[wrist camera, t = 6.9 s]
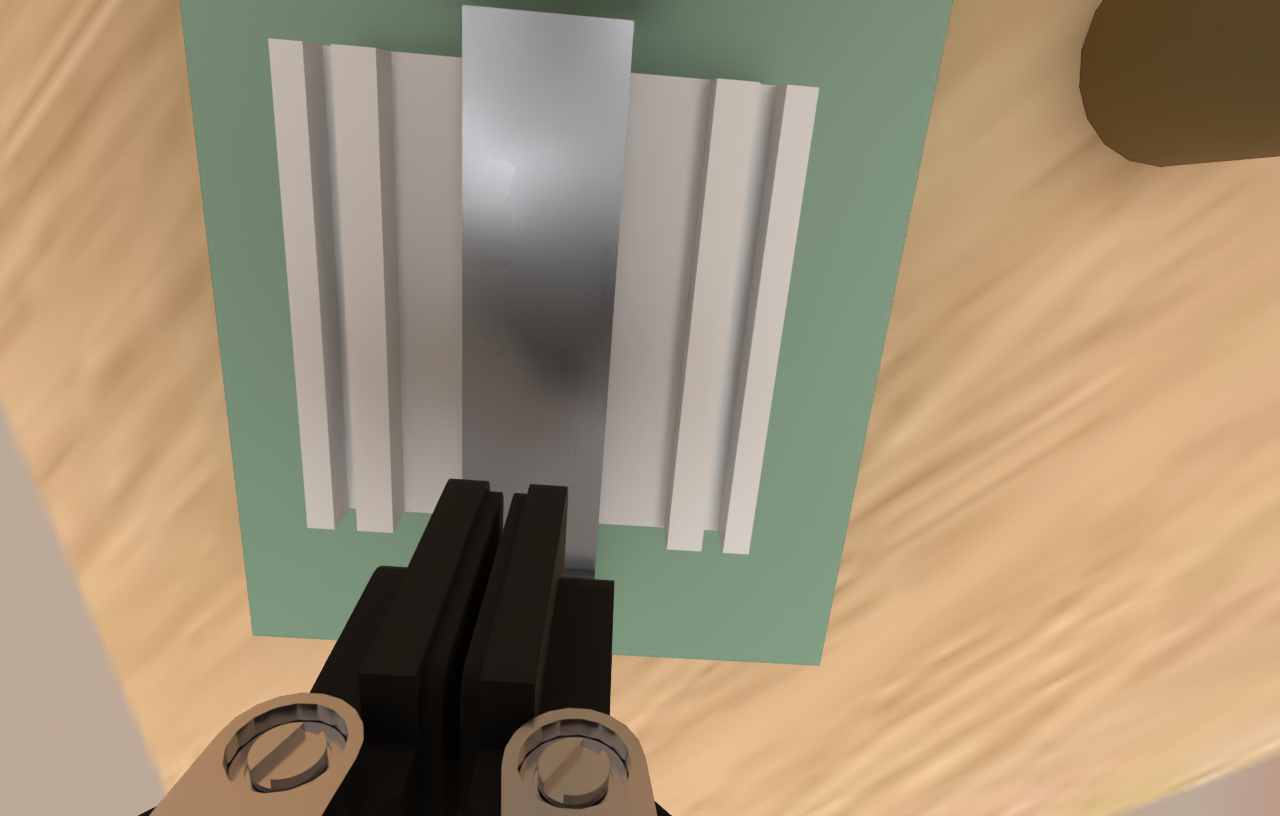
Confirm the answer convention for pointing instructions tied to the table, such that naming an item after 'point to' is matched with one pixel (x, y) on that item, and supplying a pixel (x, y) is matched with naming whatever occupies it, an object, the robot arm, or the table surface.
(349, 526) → the board
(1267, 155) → the cork
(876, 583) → the table surface
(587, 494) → the strap
